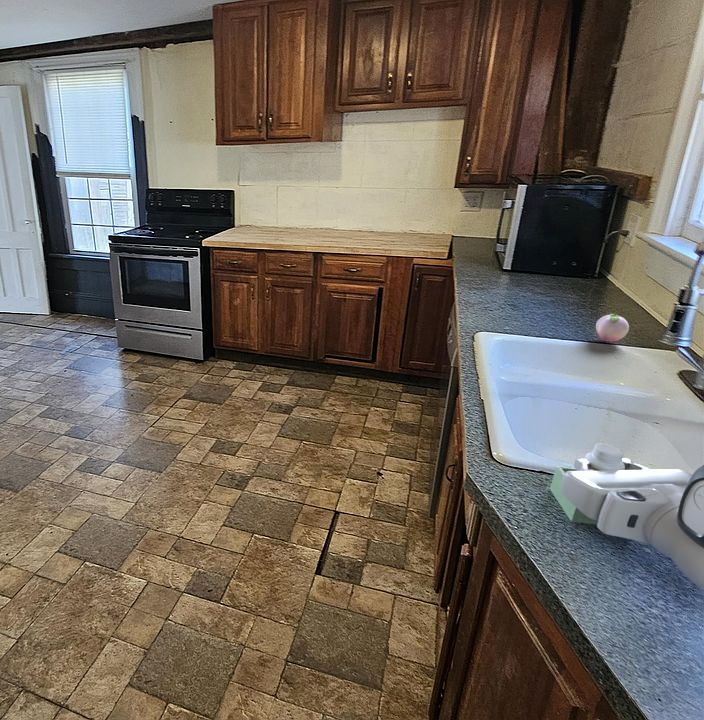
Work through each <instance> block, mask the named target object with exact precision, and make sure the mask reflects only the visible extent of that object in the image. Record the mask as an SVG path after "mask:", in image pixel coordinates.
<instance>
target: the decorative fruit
mask: <svg viewBox="0 0 704 720" xmlns="http://www.w3.org/2000/svg"><path fill="white" fill-rule="evenodd" d="M595 330H596V333H597V335H598V336H599V339H601V340H602V341H603V340H605V341H610V342H609V343H613V342H617V341H620V340H621V339H623V338H625V337H626V336H627V334H628V333H629V330H630V326H629V322H628V321H627V320H626V319H625V318H624V317H622V316H620V315H618V314H617V312H614V313H609V314H607V315H603V316H602V317H600V318H599V319H598V320H597V321H596V323H595ZM605 341H604V342H605Z"/></svg>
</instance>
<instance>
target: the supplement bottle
mask: <svg viewBox="0 0 704 720" xmlns="http://www.w3.org/2000/svg"><path fill="white" fill-rule="evenodd" d="M623 457H624V452H623V450H622V449H620V448H619V447H617V446H615V445H611V444H609V443H602V442H601V443H600V442H599V443H596V444H595V445H594V447H593V449H592V451H590V452H588V453H586V454H585V456H584V459H586V460H587V461H588V462H590V463H591V466H590V468H589V469H592V470H594V471H599V470H624V469H625V465H624V463H623V462H622V461H621V460H622V459H623Z"/></svg>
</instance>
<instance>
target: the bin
mask: <svg viewBox="0 0 704 720" xmlns="http://www.w3.org/2000/svg"><path fill="white" fill-rule="evenodd" d="M567 471H577V470H576V469H575V468H574V466H573V467H572V466H563V465H556V466H555V470H554V473H553V476H552V480H551V483H550V487H549V491H550V492H551V494H552V495H553V496H554V498H555V500H556V501H557V502H558V504H559V506H560V507H561V509H562V510H563V512H564V513H565V515H566V516H567V517H568V519H569V521H570V522H571V523H578V524H586V525H587V524H588V525H595V526H597V523H598V521H596V520H593V519H591V518H589V517H587V516H586V515H584V514H583V513H582V512H581V511H580V510H578V509H577V508H576V507H575V506H574V505H573V504H572V503H571V502H570V501H569V500H568V499H567V498H566V497H565V496H564V495H563V494H562V492H561V483H562V480H563V477H564V475H565V473H566V472H567Z"/></svg>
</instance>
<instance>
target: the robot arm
mask: <svg viewBox="0 0 704 720" xmlns="http://www.w3.org/2000/svg"><path fill="white" fill-rule="evenodd" d="M621 461H622V462H623V463H624V465H625V469H624V470H599V471H594V470H592V469H589V468H590V466H591V463H590V462H588V461H587V460H586V459H585V458H576V459H575V460H574V463H573V467H574V468H575V469H576V470H577V471H567V472H566V473H565V475H564V477H563V480H562V483H561V492H562V494H563V495H564V496H565V497H566V498H567V499H568V500H569V501H570V502H571V503H572V504H573V505H574V506H575V507H576V508H577V509H578V510H580V511H581V512H582V513H583V514H584V515H586V516H587V517H589V518H591V519H593V520H596V521H598V523H597V525H596V527H597V528H598V530H599V531H600V532H601V533H603V534H604V535H608V536H613V537H618V538H624V539H627V540H631V541H634V542H638V543H641V544H644V545H649V546H650V545H651V546H652V547H653V548H654V549H656V550H657V552H659V553H661V554H663V555H664V556H666V557H668V558H669V559H671V561H673V562H674V564H675V566H676V567H677V569H678V570H679V571H680V572H681V573H682V574H683V575H685V577H686V578H688V579H689V580H690V581H691V582H692V583H693V584H694V585H695V586H697V587H698V588H699V589H700V590H701V591H703V592H704V464H703V465H702V466H700V467H698V468H697V469H696V470H695V471H694V472H693V473H692V474H691V473H690V472H688V471H685V470H682V469H676V468H675V469H673V468H672V469H671V468H670V469H651V468H649V467H648V466H647V467H646V466H644V465H641V464H638V463H635V462H634V461H632V460H631V459H630V458H626V457H625V458H622V460H621Z"/></svg>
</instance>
